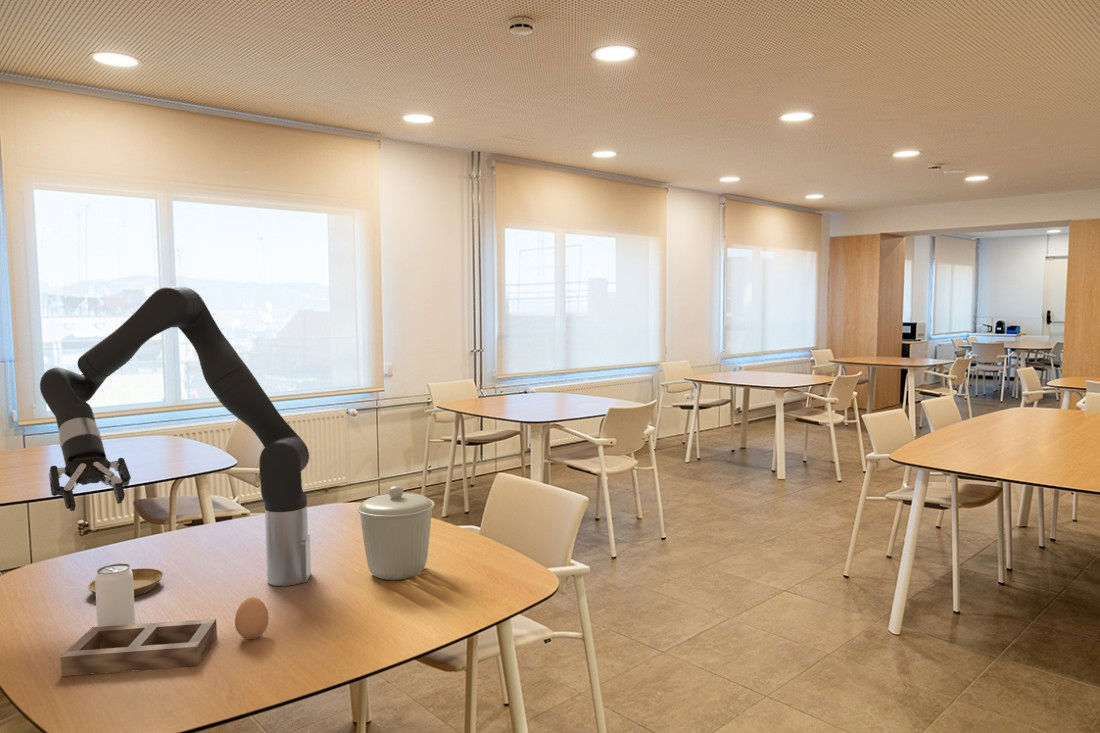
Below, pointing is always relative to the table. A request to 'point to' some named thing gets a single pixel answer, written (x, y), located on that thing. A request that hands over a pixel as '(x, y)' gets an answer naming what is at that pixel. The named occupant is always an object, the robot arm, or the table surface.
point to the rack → (139, 647)
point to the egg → (251, 618)
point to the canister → (396, 533)
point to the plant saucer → (140, 580)
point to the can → (115, 595)
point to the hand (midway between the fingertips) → (97, 505)
